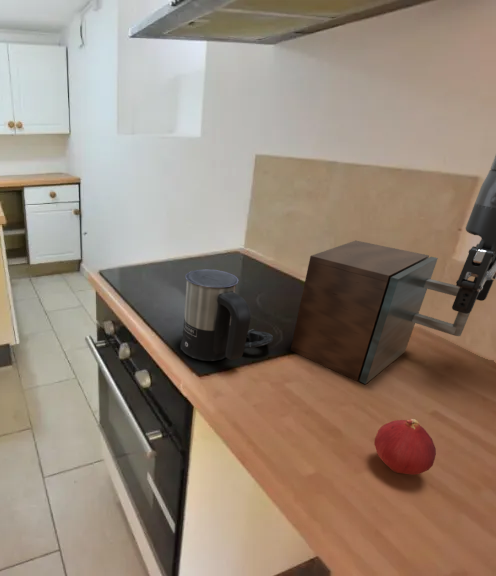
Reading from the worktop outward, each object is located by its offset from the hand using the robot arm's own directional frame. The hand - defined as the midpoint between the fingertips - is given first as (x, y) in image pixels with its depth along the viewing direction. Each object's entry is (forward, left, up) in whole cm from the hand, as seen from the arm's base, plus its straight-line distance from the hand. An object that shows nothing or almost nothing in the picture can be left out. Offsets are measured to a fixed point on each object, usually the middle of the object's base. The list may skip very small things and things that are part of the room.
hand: (468, 304), depth 61 cm
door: (+6, -3, -13) cm, 15 cm away
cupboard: (+6, -13, -13) cm, 20 cm away
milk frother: (+24, -27, -13) cm, 39 cm away
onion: (+30, +4, -13) cm, 33 cm away
